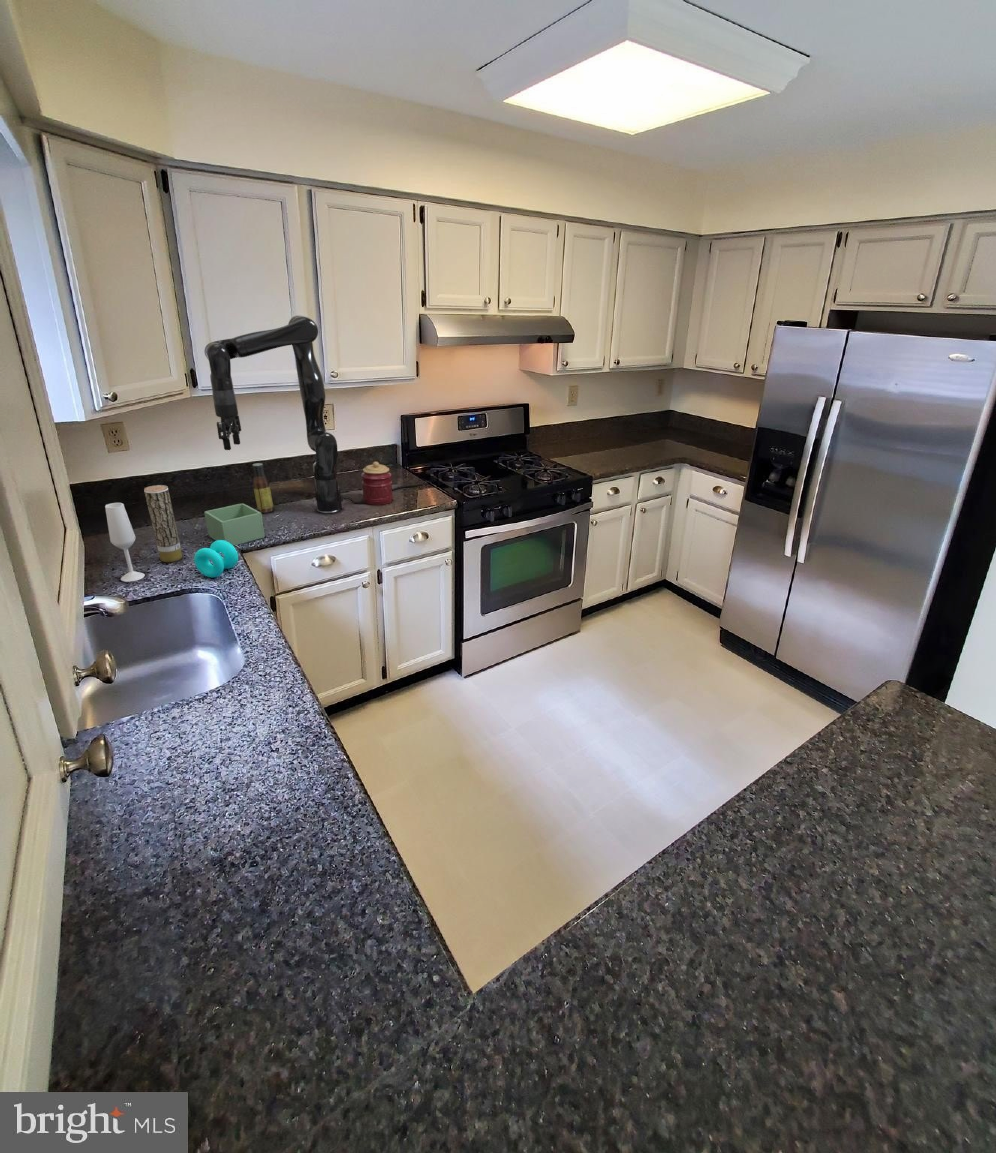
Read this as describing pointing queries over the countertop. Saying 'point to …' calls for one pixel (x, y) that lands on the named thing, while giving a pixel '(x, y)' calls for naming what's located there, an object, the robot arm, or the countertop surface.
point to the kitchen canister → (377, 484)
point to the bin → (235, 524)
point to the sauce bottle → (262, 489)
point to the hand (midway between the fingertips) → (232, 447)
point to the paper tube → (163, 523)
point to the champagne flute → (122, 536)
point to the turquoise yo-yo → (216, 558)
